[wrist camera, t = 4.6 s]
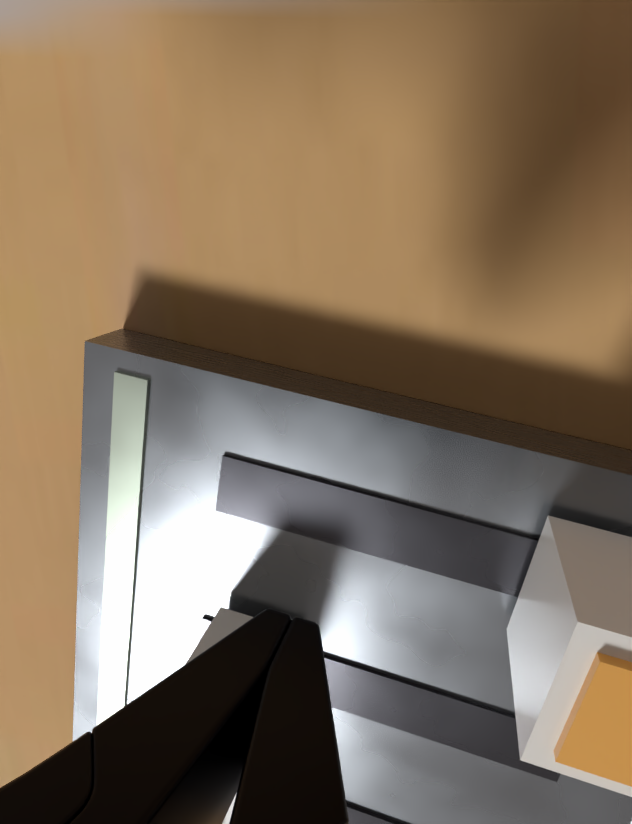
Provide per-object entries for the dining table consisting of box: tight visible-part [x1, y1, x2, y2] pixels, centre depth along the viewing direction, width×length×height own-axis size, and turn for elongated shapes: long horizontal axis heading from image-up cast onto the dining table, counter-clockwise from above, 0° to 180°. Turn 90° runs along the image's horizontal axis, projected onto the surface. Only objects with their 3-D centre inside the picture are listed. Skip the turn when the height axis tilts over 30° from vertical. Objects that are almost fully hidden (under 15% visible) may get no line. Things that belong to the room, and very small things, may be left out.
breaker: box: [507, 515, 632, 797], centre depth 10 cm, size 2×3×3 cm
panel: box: [73, 329, 632, 824], centre depth 15 cm, size 18×14×2 cm
